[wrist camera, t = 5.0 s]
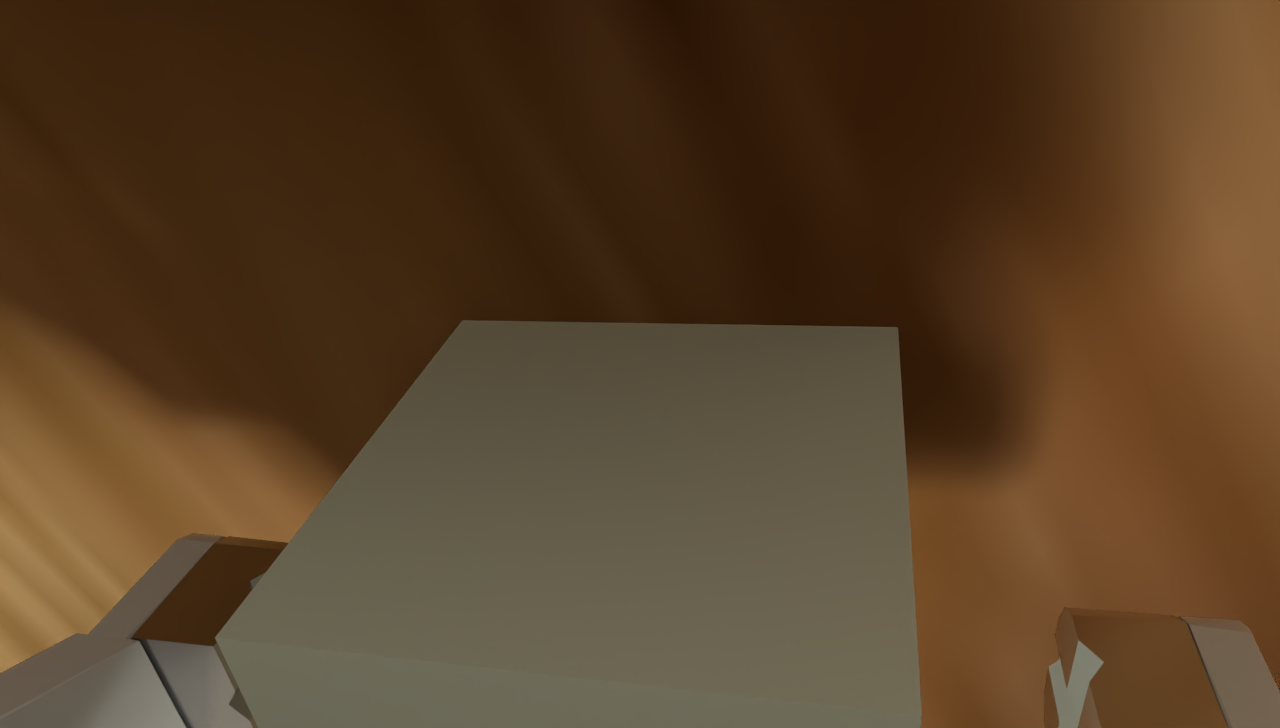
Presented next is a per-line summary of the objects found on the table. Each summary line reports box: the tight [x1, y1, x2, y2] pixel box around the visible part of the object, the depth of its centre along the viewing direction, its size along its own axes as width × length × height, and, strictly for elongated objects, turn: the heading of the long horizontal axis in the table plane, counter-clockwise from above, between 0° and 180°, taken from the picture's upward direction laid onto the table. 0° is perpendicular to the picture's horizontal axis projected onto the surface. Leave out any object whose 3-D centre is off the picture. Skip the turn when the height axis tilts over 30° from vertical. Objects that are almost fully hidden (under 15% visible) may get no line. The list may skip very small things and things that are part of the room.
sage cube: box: [215, 320, 922, 728], centre depth 9 cm, size 5×5×5 cm
